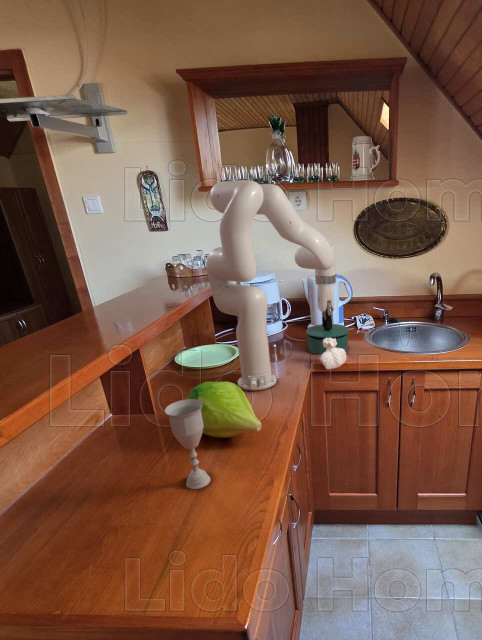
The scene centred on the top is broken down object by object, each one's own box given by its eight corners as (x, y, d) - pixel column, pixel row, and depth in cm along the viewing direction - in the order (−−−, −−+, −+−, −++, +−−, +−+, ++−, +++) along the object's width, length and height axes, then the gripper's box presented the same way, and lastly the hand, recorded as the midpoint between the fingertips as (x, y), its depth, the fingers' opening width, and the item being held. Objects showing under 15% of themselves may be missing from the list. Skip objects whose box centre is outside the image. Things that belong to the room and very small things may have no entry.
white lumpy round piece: (343, 366, 155) (329, 340, 156) (355, 358, 149) (340, 330, 150) (320, 376, 147) (305, 348, 148) (332, 368, 141) (317, 339, 142)
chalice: (203, 467, 95) (190, 396, 87) (222, 479, 91) (209, 404, 83) (174, 483, 90) (157, 409, 82) (192, 496, 86) (176, 419, 78)
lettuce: (278, 435, 111) (238, 470, 101) (216, 401, 120) (174, 430, 109) (279, 392, 103) (235, 426, 92) (212, 358, 111) (165, 386, 100)
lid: (353, 336, 158) (353, 319, 155) (309, 341, 155) (308, 323, 152) (343, 325, 173) (343, 309, 170) (303, 328, 170) (302, 312, 167)
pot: (352, 353, 161) (351, 337, 158) (311, 357, 158) (311, 341, 155) (342, 341, 175) (342, 326, 172) (305, 345, 172) (304, 330, 169)
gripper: (311, 276, 162) (314, 323, 169) (319, 284, 147) (321, 334, 155) (331, 275, 163) (332, 321, 171) (340, 283, 149) (341, 333, 156)
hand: (327, 327), depth 163 cm, fingers closed on lid, 2 cm apart
